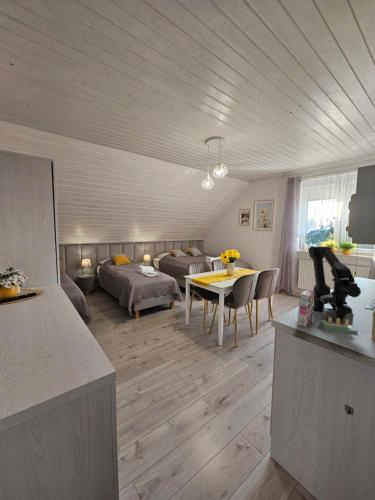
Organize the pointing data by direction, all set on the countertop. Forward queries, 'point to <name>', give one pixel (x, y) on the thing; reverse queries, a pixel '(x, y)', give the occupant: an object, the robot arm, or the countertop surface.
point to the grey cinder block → (333, 314)
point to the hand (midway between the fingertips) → (337, 319)
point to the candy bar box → (305, 308)
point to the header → (338, 326)
